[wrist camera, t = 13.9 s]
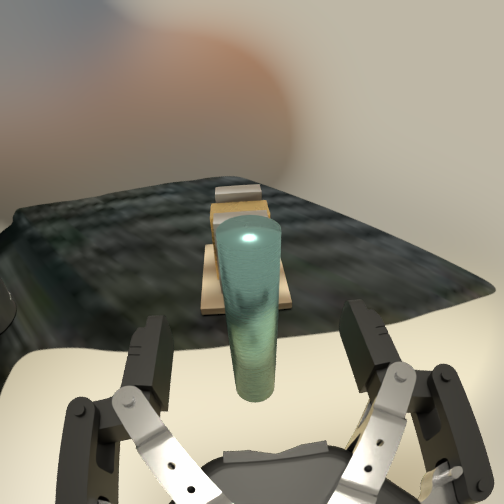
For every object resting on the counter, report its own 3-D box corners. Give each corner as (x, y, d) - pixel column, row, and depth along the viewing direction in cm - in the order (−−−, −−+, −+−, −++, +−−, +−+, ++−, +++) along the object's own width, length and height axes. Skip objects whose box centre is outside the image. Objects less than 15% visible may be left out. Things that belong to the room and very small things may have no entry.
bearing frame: (291, 308, 36) (297, 230, 30) (201, 314, 36) (187, 238, 29) (275, 245, 48) (276, 180, 41) (206, 250, 47) (198, 185, 41)
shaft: (276, 400, 22) (286, 245, 13) (237, 403, 22) (214, 250, 13) (256, 269, 36) (253, 146, 28) (230, 271, 36) (220, 148, 28)
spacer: (269, 275, 40) (270, 214, 35) (217, 279, 40) (210, 218, 34) (266, 258, 43) (266, 200, 38) (217, 261, 43) (211, 203, 38)
